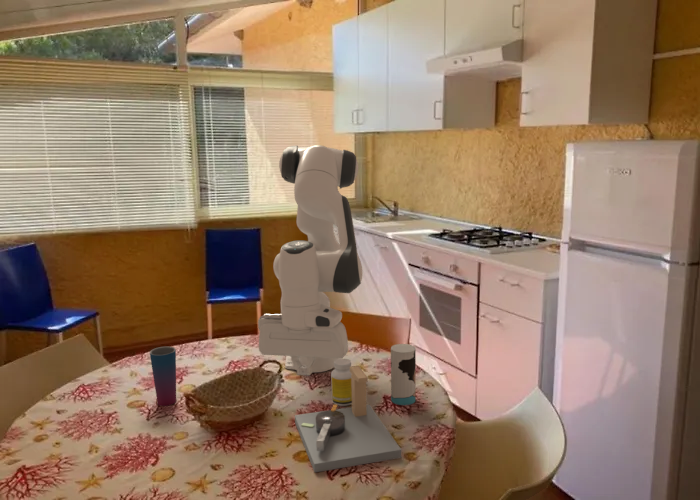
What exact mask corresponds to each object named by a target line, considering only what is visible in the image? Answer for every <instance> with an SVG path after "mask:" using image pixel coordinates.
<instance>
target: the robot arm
mask: <svg viewBox="0 0 700 500" xmlns="http://www.w3.org/2000/svg"><path fill="white" fill-rule="evenodd" d="M282 151H283V152H282V154H281V156H280V158H279V162H278V163H279V165H278V169H279V172H280V174H281V178H282V179H283V180H284V181H285V182H287V183H289V184H294V189H293V192H294V193H293V194H294V200H295V202H296V204H297V210H296V213H297V214H296V226H297V228H298V229H299V231H300V232H301V233H303V234H304V235H306V236H307V240H293V241H289V242H288V241H287V242H286V243H284V244H283V245H282V246H281V248H280V251H279V253H278V254H276V256H275V258H274V260H273V264H272V265H273V267H272V268H273V273H274V275H275V277H276V278H277V279H278V283H279V288H280V291H281V297H280V313H274V314H271V313H264V314H263V315H261V316H259V317H258V321H257V326H258V328H257V329H258V331H259V333H258V334H259V335H258V351H259V352H260V354H261V355H263V356H281V357H283V356H284V357H285V366H284V368H285V369H287V370H295V371H296V374H297V376H299V375H300V376H311V375H312V373H322V372H326V371H329V370H332V369H335V367H334V361H335V360H337V359H344V357H345V356H346V355H347V354H348V351H349V344H348V343H349V342H348V334H347V330H346V327H345V324H343V323H342V322H341V320H342V318H343V313H342V311H340V310H339V309H336V308H332V307H331V301H330V298H329V296H328V295H327V294H326V292H327V293H332V292H333V293H339V294H351V293H352V292H354V291H355V290H356V289H357V288H358V287H359V286H360V285H361V284H362V279H363V266H362V262H361V261H362V260H361V259H360V256H359V254H358V247H357V240H356V235H355V227H354V221H353V216H352V211H351V210H352V209H351V204H350V202H349V200H348V198H347V196H344V195H343V194H341V192H340V191H339V190H341V189H343V188H348V187H351V186H352V185H353V184H354V183H355V181H356V178H357V177H358V174H359V163H358V160H357V155H356V154H355V153H354V152H353V151H351V150H348V149H347V150H346V149H343V150H342V149H338V148H333V147H327V146H325V145H320V144H314V145H311V146H298V145H290V146H287V147H285V148H284V149H283V150H282ZM334 226H335V227H336V228H337V233H338V240H337V239H336V235H335V231H334ZM338 241H339V243H338Z"/></svg>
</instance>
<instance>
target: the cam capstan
mask: <svg viewBox="0 0 700 500" xmlns="http://www.w3.org/2000/svg"><path fill="white" fill-rule="evenodd" d="M338 407H339V405H336V404H333V405H332V408H331V409H328V410H329V411H328V410H322V411H323V412H321V411H319V412H320V413H319V414H317V415H316V432H317V433H318V434H319V436H318V438H317V440H316V445H317V451H324V449H325V447H326V444H327V442H328V439H329V437H330V436H337V435H340V434H342V433H343V432H344V431H345V416H344V414H343V413H341V412H339V411H336V409H338Z"/></svg>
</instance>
